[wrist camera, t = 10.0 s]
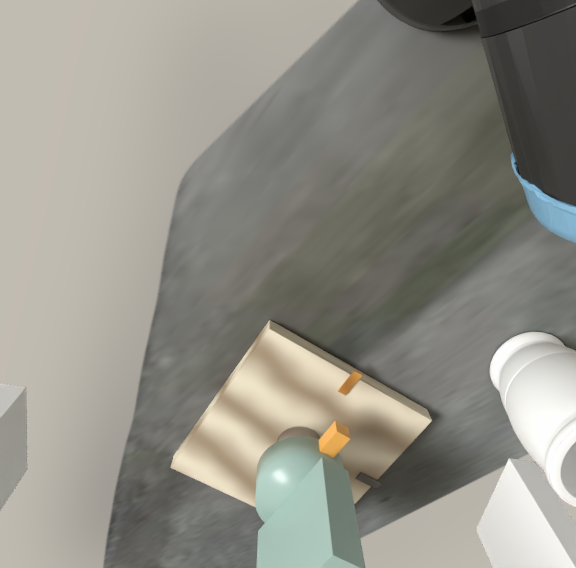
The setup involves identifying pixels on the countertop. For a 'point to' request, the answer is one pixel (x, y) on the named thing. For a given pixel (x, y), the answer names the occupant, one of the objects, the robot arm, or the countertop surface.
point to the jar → (541, 403)
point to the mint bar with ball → (307, 504)
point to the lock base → (296, 416)
